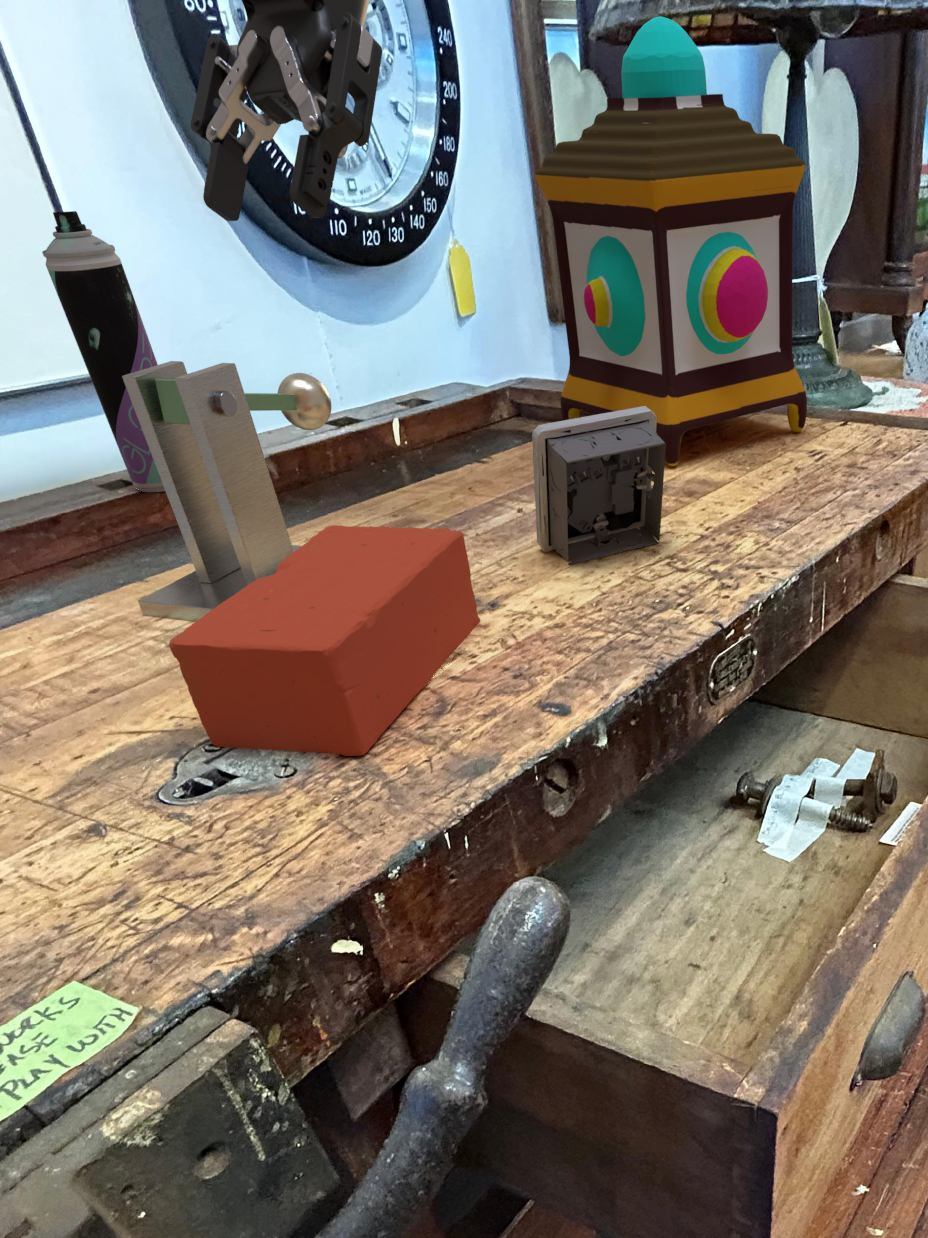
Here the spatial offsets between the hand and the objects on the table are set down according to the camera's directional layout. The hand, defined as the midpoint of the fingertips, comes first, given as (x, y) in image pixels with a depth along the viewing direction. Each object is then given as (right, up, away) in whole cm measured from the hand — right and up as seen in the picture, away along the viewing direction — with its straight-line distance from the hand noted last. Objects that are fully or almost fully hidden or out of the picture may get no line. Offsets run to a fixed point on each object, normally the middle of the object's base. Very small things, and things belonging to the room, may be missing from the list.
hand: (262, 211), depth 66 cm
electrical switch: (+21, -18, +11) cm, 30 cm away
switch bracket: (-3, -22, +6) cm, 23 cm away
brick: (+8, -32, -5) cm, 34 cm away
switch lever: (-2, -12, +4) cm, 13 cm away
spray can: (-21, -4, +27) cm, 35 cm away
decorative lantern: (+26, +4, +35) cm, 43 cm away
